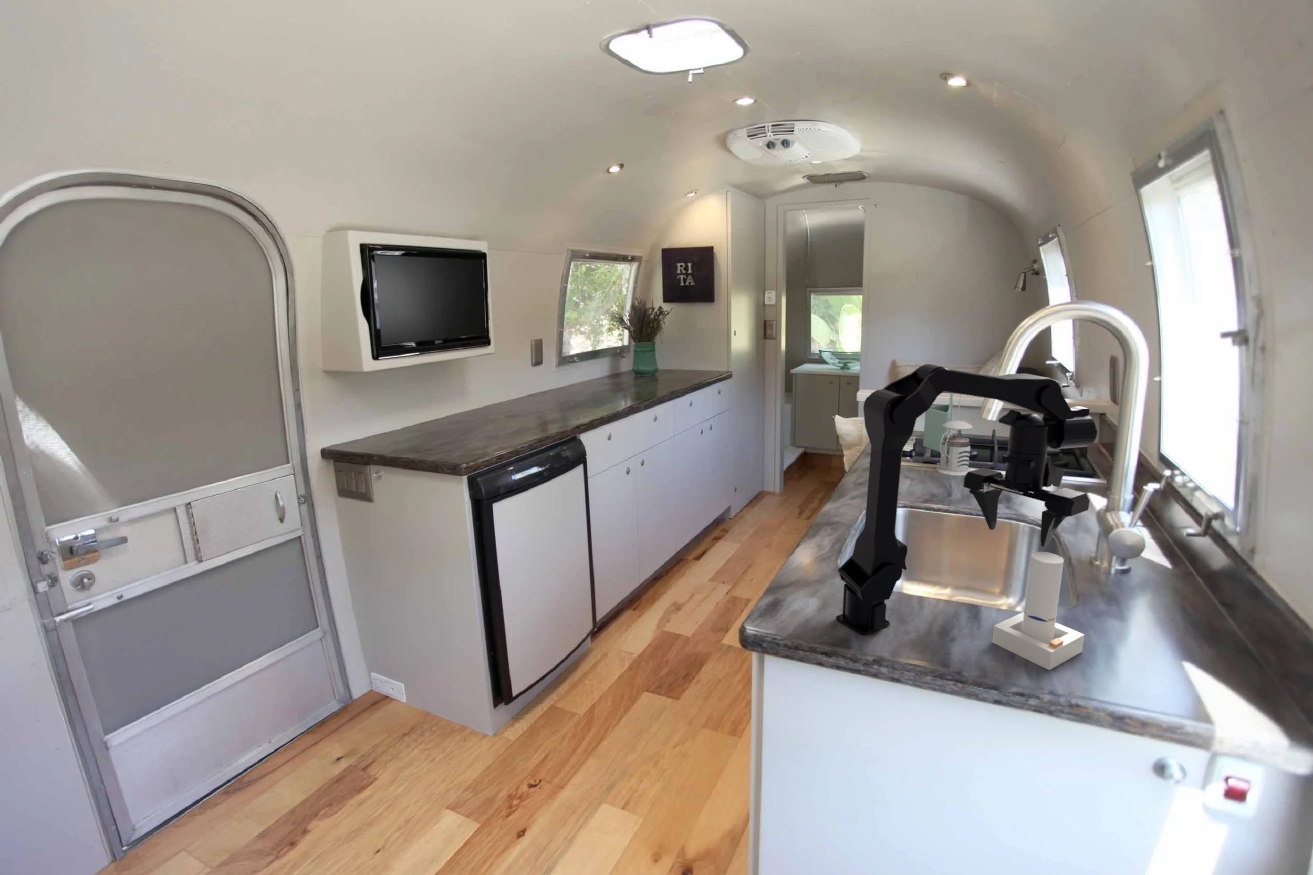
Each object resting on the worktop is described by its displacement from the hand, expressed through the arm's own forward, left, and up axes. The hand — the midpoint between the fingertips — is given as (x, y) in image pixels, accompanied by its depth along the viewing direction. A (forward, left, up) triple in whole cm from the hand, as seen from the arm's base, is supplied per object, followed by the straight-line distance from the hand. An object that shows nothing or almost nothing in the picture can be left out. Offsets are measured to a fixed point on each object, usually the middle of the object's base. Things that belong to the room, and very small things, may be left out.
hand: (1017, 537), depth 112 cm
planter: (-78, +83, -13) cm, 115 cm away
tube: (+10, -9, -13) cm, 19 cm away
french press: (-57, +63, -13) cm, 86 cm away
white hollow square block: (+10, -9, -13) cm, 19 cm away
